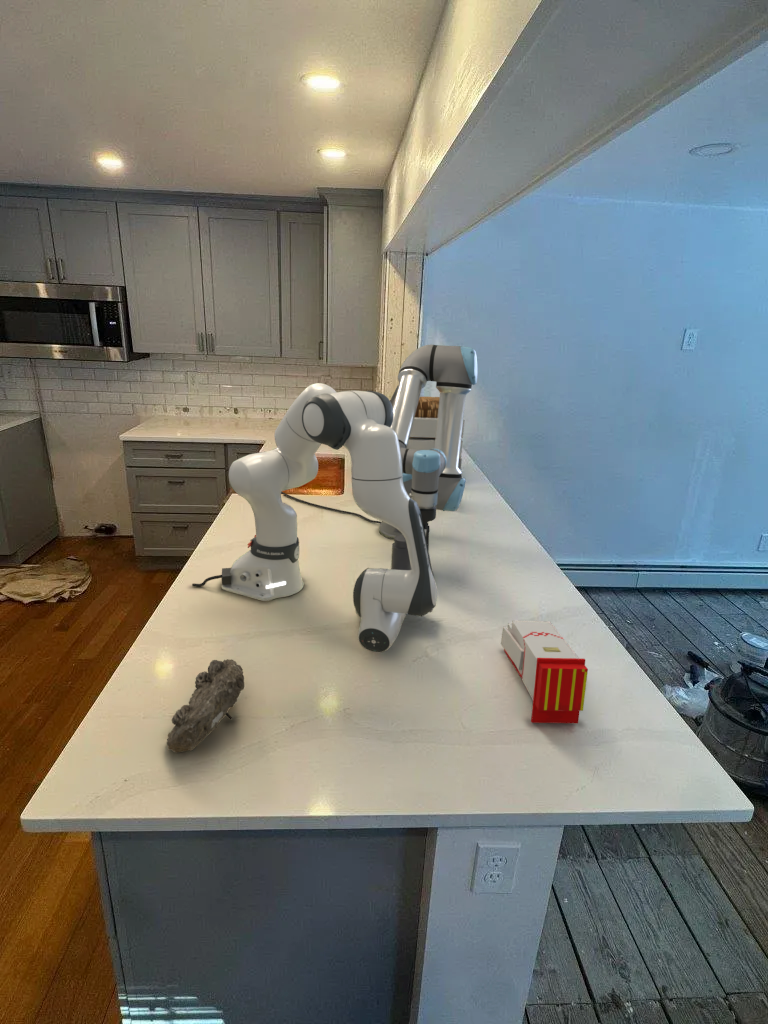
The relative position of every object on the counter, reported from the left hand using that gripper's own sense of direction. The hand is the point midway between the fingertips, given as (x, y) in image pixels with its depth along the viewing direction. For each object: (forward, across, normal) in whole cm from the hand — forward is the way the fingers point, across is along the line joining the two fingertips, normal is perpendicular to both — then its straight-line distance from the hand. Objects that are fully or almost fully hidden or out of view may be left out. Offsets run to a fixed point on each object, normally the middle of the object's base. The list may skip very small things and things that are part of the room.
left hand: (400, 582), depth 151 cm
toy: (-25, -35, +6) cm, 44 cm away
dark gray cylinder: (-1, 0, +6) cm, 6 cm away
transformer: (+129, +16, +6) cm, 130 cm away
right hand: (+18, -2, +5) cm, 18 cm away
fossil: (-54, +25, +6) cm, 60 cm away
